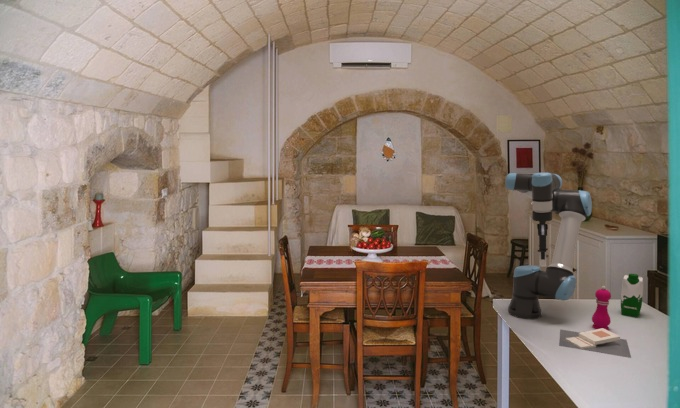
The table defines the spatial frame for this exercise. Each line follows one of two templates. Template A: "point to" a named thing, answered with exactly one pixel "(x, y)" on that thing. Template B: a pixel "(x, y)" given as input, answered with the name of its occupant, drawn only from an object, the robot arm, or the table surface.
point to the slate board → (598, 345)
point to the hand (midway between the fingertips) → (542, 266)
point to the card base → (580, 342)
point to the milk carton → (631, 295)
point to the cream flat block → (599, 336)
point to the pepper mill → (601, 309)
